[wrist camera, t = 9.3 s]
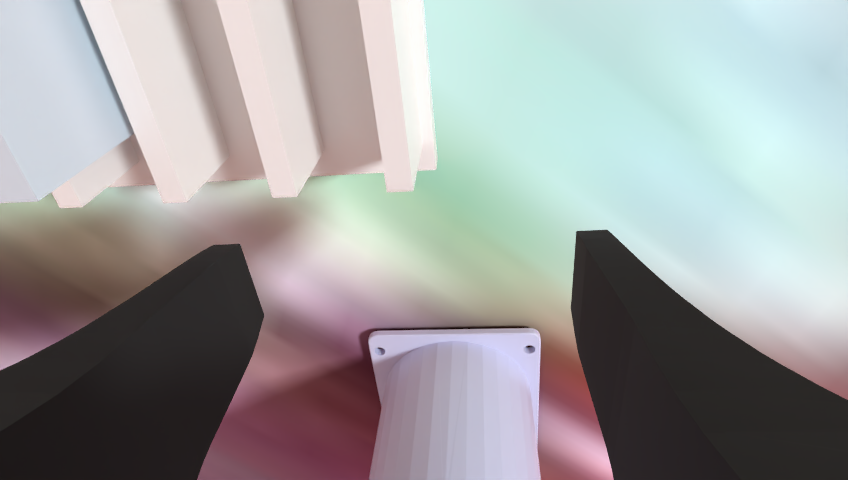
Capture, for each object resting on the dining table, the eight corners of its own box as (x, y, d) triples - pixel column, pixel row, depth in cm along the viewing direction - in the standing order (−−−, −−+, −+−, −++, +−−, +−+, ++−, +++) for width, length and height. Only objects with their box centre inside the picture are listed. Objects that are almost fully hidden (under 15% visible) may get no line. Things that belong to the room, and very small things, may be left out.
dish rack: (437, 158, 20) (429, 218, 16) (54, 179, 22) (-33, 238, 18) (394, -327, 13) (363, -415, 9) (-164, -234, 15) (-378, -277, 11)
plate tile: (174, 104, 19) (38, 201, 13) (132, 107, 19) (-21, 204, 13) (87, -138, 15) (-161, -158, 9) (36, -132, 15) (-241, -146, 9)
